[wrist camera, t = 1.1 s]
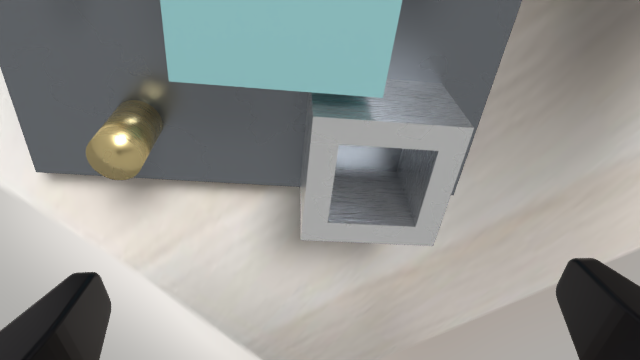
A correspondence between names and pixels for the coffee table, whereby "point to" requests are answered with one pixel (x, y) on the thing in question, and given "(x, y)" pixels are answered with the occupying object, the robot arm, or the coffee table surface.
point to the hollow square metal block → (381, 186)
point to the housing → (282, 44)
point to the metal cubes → (207, 92)
